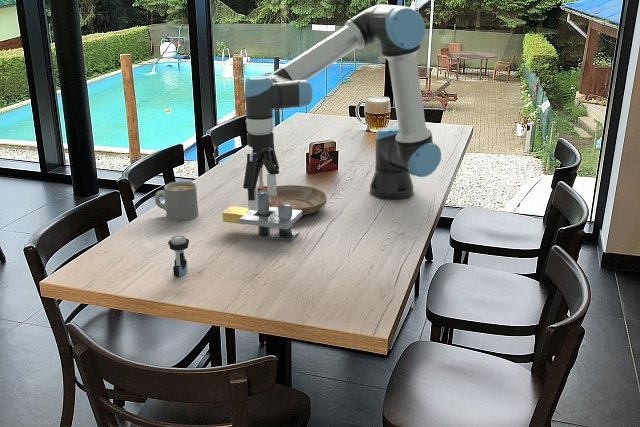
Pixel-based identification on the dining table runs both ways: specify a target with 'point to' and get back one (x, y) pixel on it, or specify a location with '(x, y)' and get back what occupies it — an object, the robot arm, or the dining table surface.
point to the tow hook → (261, 182)
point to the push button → (179, 254)
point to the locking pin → (263, 211)
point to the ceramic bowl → (299, 198)
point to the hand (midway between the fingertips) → (263, 202)
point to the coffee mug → (179, 200)
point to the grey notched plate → (267, 219)
